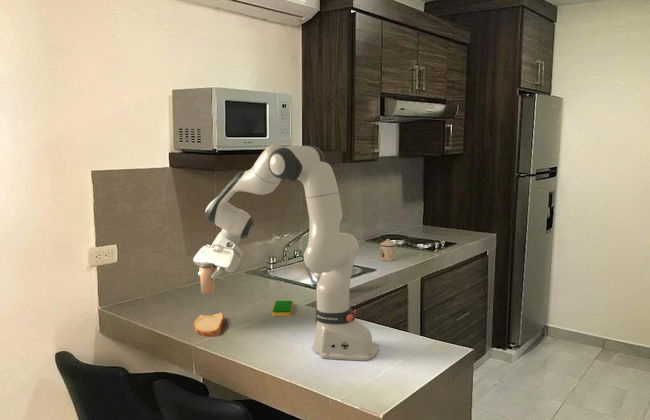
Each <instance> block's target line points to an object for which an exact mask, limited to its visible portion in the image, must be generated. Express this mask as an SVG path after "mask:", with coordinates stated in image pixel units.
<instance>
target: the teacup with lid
mask: <svg viewBox="0 0 650 420" xmlns="http://www.w3.org/2000/svg"><path fill="white" fill-rule="evenodd" d="M379 246H380V250H379V251H380V252H379V253H380V254H379V255H380V260H381V261H385V262H392V261H395V260H396V258H397V255H396V254H397V251H396V250H397V248H396V246H397V243H396V242H393V241H392V240H390V239H389V238H387V239H386V240H385V241H382V242H380V243H379Z"/></svg>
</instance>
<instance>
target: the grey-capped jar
mask: <svg viewBox="0 0 650 420" xmlns="http://www.w3.org/2000/svg"><path fill="white" fill-rule="evenodd" d="M198 268H199V269H200V270H199V271H200V276H199V278H200V281H199V282H200V293H201V294H203V295H210V294H214V293H215V292H216V287H215V280H214V279H211V278H210V275H211V274H212V273H214V272H215V269H214V263H210V262H202V263H200V264H199V266H198Z"/></svg>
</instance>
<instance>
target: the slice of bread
mask: <svg viewBox="0 0 650 420" xmlns="http://www.w3.org/2000/svg"><path fill="white" fill-rule="evenodd" d="M225 323H226V319H225V315H224V314H223V312H218V313H215V314H211V315H209V314H200V315H199V316H197V317H196V319H195V320H194V321H193V329H194V332H195V333H196V334H197V335H199V336H201V337H204V338H213V337H219V336H220V335H221V333H222V332H223V329H224V325H225Z"/></svg>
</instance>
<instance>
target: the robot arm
mask: <svg viewBox="0 0 650 420" xmlns="http://www.w3.org/2000/svg"><path fill="white" fill-rule="evenodd" d="M325 157H326V156H325V154H324V152H323V151H322V150H321V149H320V148H319V147H318V146H315V145H311V144H309V145H289V146H287V147H285V146H284V147H282V146H281V145H277V144H272V145H269V146H267V147H266V148H265V149H264V150H263V151H262V152H261V154H260V155H258V158H257V160H256V161H255V162H254V164H253V166H252V167H251V168H250V169H248V170H246V171H245V170H240V171H238V173H237V174H236V175H235V176H234V177H233V178H232V179H231V180H230V181H229V182H228V183H227V185H226V186H225V187H224V188H223V189H222V190H221V191H220V193H219V194H218V195H217V196H216V197H215V198H214V199H213V200H211V201H210V203H208V205H207V206H206V208H205V210H204V215H205V218H206V221H207V223H209V224H212V225H214V226H217V227H218V228H221V231H220V232H219V233H218V234H217V236H216V237H215V238H214V239H213V240H214V241H213V242H212V244H205V245H202V247H201V248H199V250H198V251H197V253H196V254H195V255H194V256H193V260H192V261H193V263H194V264H195V265H196V266H198V267H199V264H200V263H202V262H210V263H214V273H212V274H211V275H210V278H211V279H214V281H215V280H216V278H218V276H220V275H221V274H222V273H223V271H224V272H228V273H233V272H234V271H235V270H236V269H237V268H238V266H239V264H240V262H241V258H243V256H244V252H243V251H242V249H240V247H239V242H240V241H241V240H244V239H246V238H247V237H248V236H249V233H250V231H251V230H252V228H253V227H254V225H255V224H254V223H255V222H254V220H253V216H251V215H250V214H249V213H248V212H247V211H245V210H243V209H241V208H238V207H236V206H234V205H232V204H231V203H229V200H230V199H231V198H232V197H233V195H235V193H237V192H245V193H250V194H255V195H260V196H261V195H267V194H268V195H269V194H271V193H273V192H274V191H275V190H276V189H277V187H278V185H280V183H281V181H283V180H284V181H289V182H296V181H297V180H298V181H300V182H301V184H302V185H303V189H304V194H305V200H306V206H307V212H308V219H309V220H308V221H309V231H308V232H309V233H308V241H307V245H306V248H305V250H304V254H303V261H304V264H305V266H306V268H307V269H308V270H309V271H310V272H312V273H314V274H320V277H319V279H318V281H317V284H316V308H315V313H314V314H315V315H314V318H315V324H316V326H315V334H314V335H315V336H314V341H313V345H312V350H313V351H314V352H315V353H316V354H318V355H319V356H320V357H321V358H322V359H327V360H328V359H329V360H346V361H347V360H348V361H364V362H365V361H369V360H372V359H373V358H375V357H376V355H378V352H379V351H380V348H379V344H378V343H377V342H375V341H373V337H372V334H371V331H370V329H369V328H368V327H366V326H365V325H363V324H362V323H361V322H360V321H359V320H357V319H356V313H357V312H356V308H355V309H354V310H353V309H352V308H351V307H350V284H351V279H352V273H353V269H354V264H355V260H356V257H357V255H358V253H359V249H360V245H359V242H358V240H357V238H356V236H354V235H353V234H351V233H348V232H340V226H341V222H342V218H343V211H342V203H341V198H340V193H339V187H338V183H337V180H336V176H335V172H334V170H333V168H332V166H331V164H330V163H328V162H326V158H325ZM197 275H198V277H200V268H199V271H198V273H197Z"/></svg>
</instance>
